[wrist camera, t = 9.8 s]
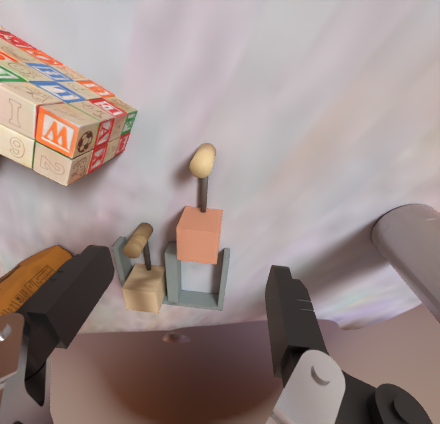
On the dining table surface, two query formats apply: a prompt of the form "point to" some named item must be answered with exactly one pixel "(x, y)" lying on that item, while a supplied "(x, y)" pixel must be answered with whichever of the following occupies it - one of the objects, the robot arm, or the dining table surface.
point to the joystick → (200, 216)
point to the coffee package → (29, 277)
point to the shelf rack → (175, 278)
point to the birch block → (143, 275)
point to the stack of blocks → (56, 115)
